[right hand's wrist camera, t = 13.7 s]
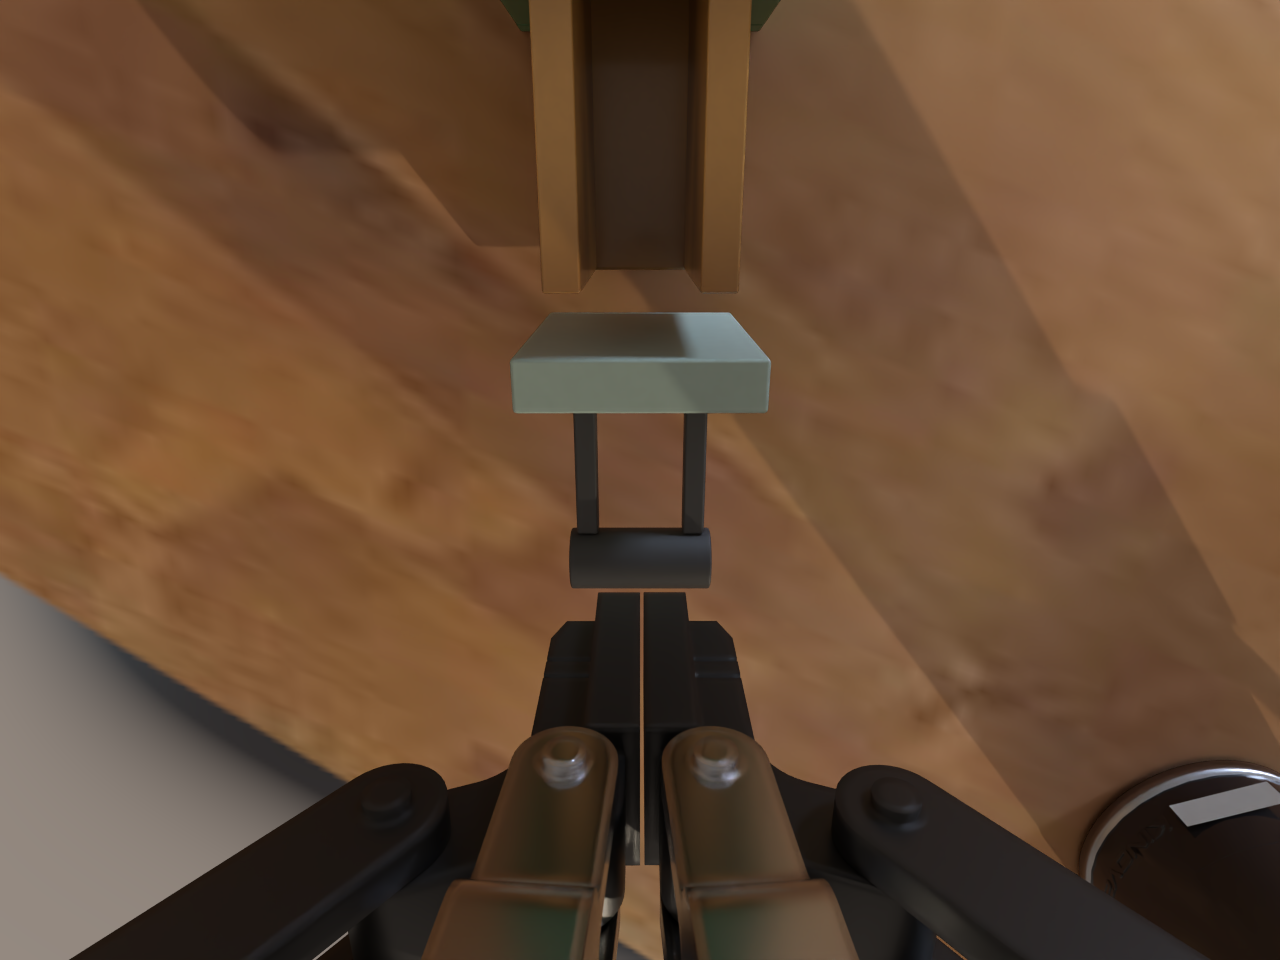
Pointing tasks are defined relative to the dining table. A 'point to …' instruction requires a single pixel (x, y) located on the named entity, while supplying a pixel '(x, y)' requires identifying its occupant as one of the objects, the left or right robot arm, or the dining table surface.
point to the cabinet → (760, 12)
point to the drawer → (640, 248)
